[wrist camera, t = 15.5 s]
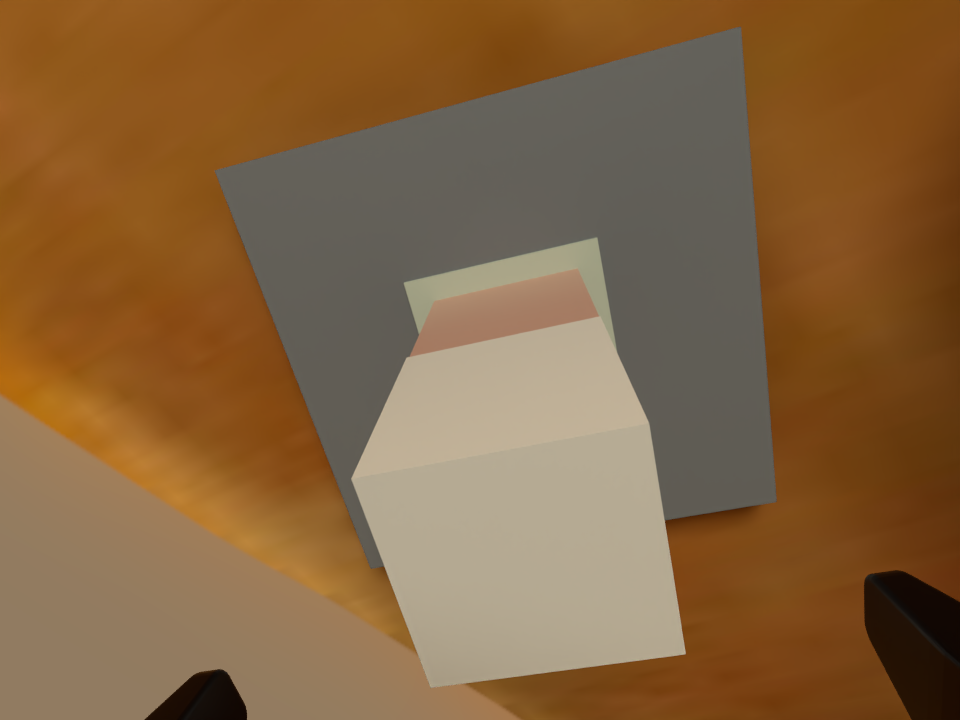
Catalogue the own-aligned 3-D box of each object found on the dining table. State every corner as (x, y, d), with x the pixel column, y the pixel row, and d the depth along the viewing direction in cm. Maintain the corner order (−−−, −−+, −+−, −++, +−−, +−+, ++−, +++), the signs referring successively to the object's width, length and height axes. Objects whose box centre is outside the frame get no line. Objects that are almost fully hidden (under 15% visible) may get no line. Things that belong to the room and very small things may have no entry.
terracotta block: (577, 268, 18) (600, 319, 13) (602, 399, 19) (631, 487, 15) (434, 300, 18) (407, 361, 14) (469, 425, 20) (456, 518, 15)
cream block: (600, 316, 13) (649, 422, 8) (630, 484, 14) (685, 654, 10) (406, 357, 14) (351, 478, 9) (455, 515, 15) (430, 687, 10)
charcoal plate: (721, 34, 16) (741, 25, 15) (759, 477, 22) (777, 503, 20) (236, 166, 19) (213, 171, 17) (379, 542, 24) (370, 570, 22)
